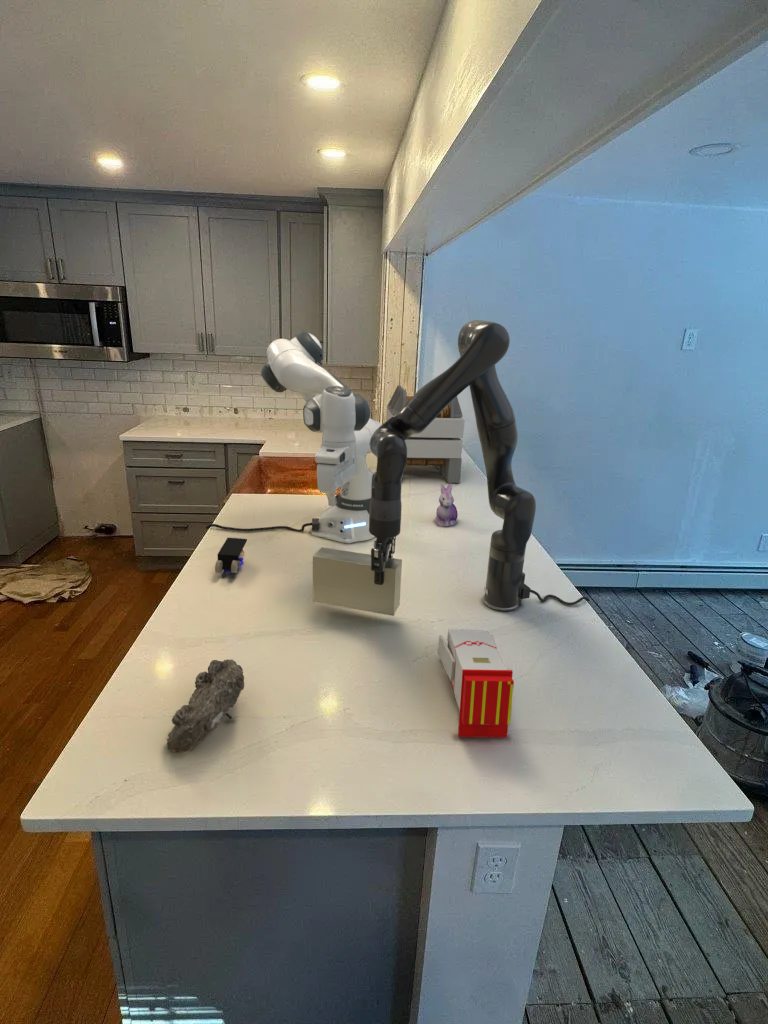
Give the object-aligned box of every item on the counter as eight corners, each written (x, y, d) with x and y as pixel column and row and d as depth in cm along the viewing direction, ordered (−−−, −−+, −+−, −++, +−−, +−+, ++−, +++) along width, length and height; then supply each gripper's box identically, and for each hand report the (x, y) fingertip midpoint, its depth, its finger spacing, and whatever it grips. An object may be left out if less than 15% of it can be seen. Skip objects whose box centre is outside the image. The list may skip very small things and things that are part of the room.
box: (312, 601, 144) (312, 556, 140) (321, 591, 149) (321, 547, 145) (393, 616, 139) (395, 569, 134) (399, 604, 144) (402, 559, 140)
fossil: (192, 660, 117) (244, 628, 112) (224, 691, 120) (276, 661, 115) (142, 746, 98) (202, 712, 93) (182, 779, 101) (242, 748, 96)
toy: (488, 613, 130) (523, 677, 101) (484, 667, 133) (517, 744, 104) (435, 612, 130) (455, 676, 101) (432, 666, 133) (451, 743, 103)
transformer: (382, 463, 289) (386, 382, 275) (445, 464, 293) (451, 384, 279) (390, 482, 257) (394, 392, 243) (460, 483, 261) (468, 394, 247)
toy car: (238, 584, 162) (249, 557, 175) (236, 562, 158) (247, 536, 172) (215, 584, 161) (227, 556, 175) (212, 561, 158) (225, 535, 171)
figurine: (442, 528, 206) (446, 489, 201) (428, 519, 214) (431, 481, 209) (464, 525, 210) (468, 486, 205) (449, 516, 218) (452, 479, 213)
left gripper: (341, 441, 160) (341, 488, 164) (312, 457, 141) (313, 509, 146) (363, 443, 158) (362, 490, 162) (335, 459, 139) (336, 512, 144)
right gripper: (392, 526, 126) (389, 593, 132) (407, 506, 139) (404, 568, 145) (360, 522, 128) (359, 588, 134) (378, 503, 141) (376, 564, 147)
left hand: (338, 500), depth 154 cm, fingers open, 8 cm apart
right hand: (382, 577), depth 140 cm, fingers closed on box, 6 cm apart
